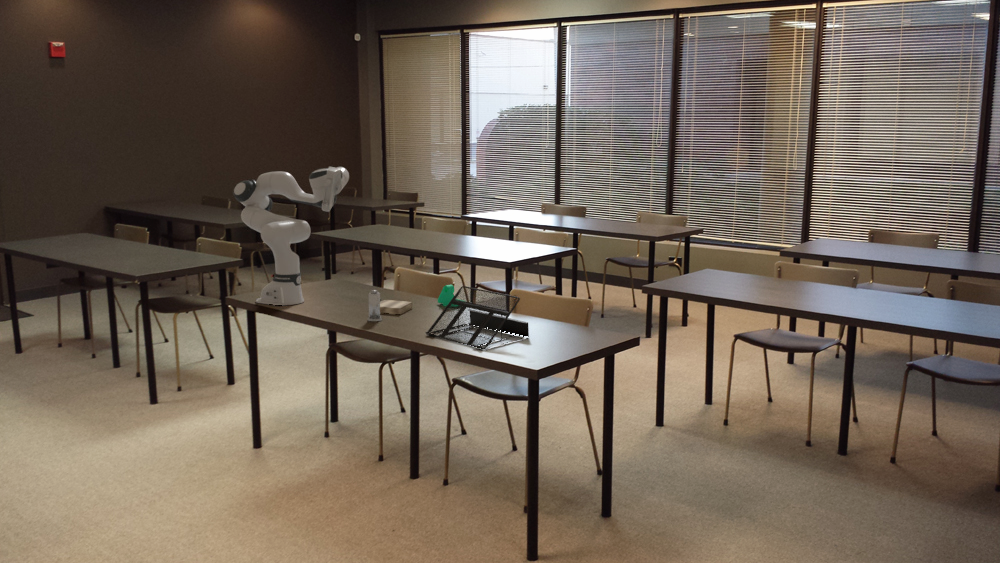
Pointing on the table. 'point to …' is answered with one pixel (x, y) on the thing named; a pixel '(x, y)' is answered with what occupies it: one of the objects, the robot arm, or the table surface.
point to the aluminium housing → (374, 306)
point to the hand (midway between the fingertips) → (324, 195)
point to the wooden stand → (394, 306)
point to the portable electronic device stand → (479, 318)
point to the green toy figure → (447, 295)
